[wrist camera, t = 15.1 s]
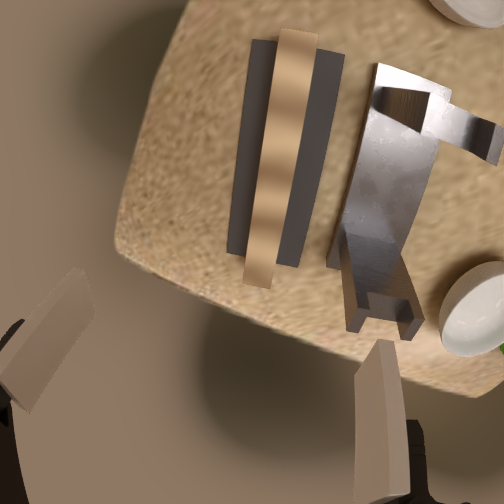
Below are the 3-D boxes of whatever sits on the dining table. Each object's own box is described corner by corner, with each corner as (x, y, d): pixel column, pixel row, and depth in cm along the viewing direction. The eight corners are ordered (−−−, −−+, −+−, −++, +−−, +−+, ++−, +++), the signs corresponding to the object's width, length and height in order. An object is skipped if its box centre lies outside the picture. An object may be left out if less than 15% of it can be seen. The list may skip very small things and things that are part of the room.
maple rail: (284, 34, 26) (280, 27, 22) (317, 40, 26) (318, 34, 22) (248, 263, 43) (242, 283, 39) (274, 268, 42) (269, 289, 38)
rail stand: (374, 63, 26) (423, 53, 13) (444, 89, 26) (522, 105, 13) (326, 258, 41) (327, 346, 28) (385, 271, 40) (407, 357, 27)
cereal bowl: (486, 225, 33) (508, 252, 27) (526, 278, 35) (544, 304, 29) (411, 303, 42) (420, 336, 36) (462, 339, 44) (472, 369, 38)
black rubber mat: (254, 39, 27) (253, 39, 27) (344, 55, 27) (344, 54, 26) (227, 250, 43) (226, 252, 42) (298, 265, 42) (297, 267, 41)
